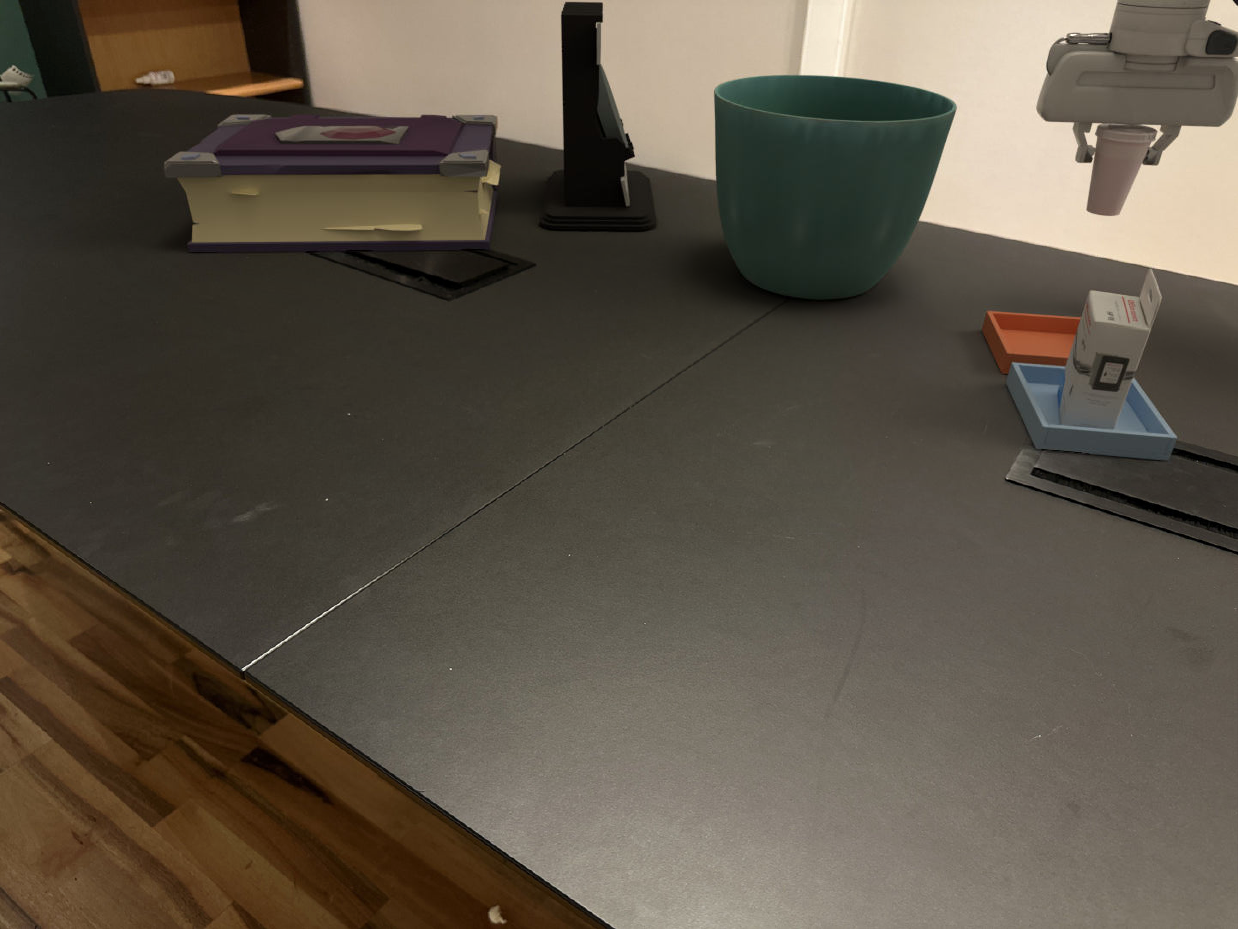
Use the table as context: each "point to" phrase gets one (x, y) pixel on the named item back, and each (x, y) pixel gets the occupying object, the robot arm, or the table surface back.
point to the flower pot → (823, 177)
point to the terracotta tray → (1029, 338)
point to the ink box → (1106, 356)
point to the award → (593, 141)
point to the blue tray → (1132, 437)
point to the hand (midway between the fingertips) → (1116, 163)
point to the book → (342, 183)
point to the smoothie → (1116, 165)
